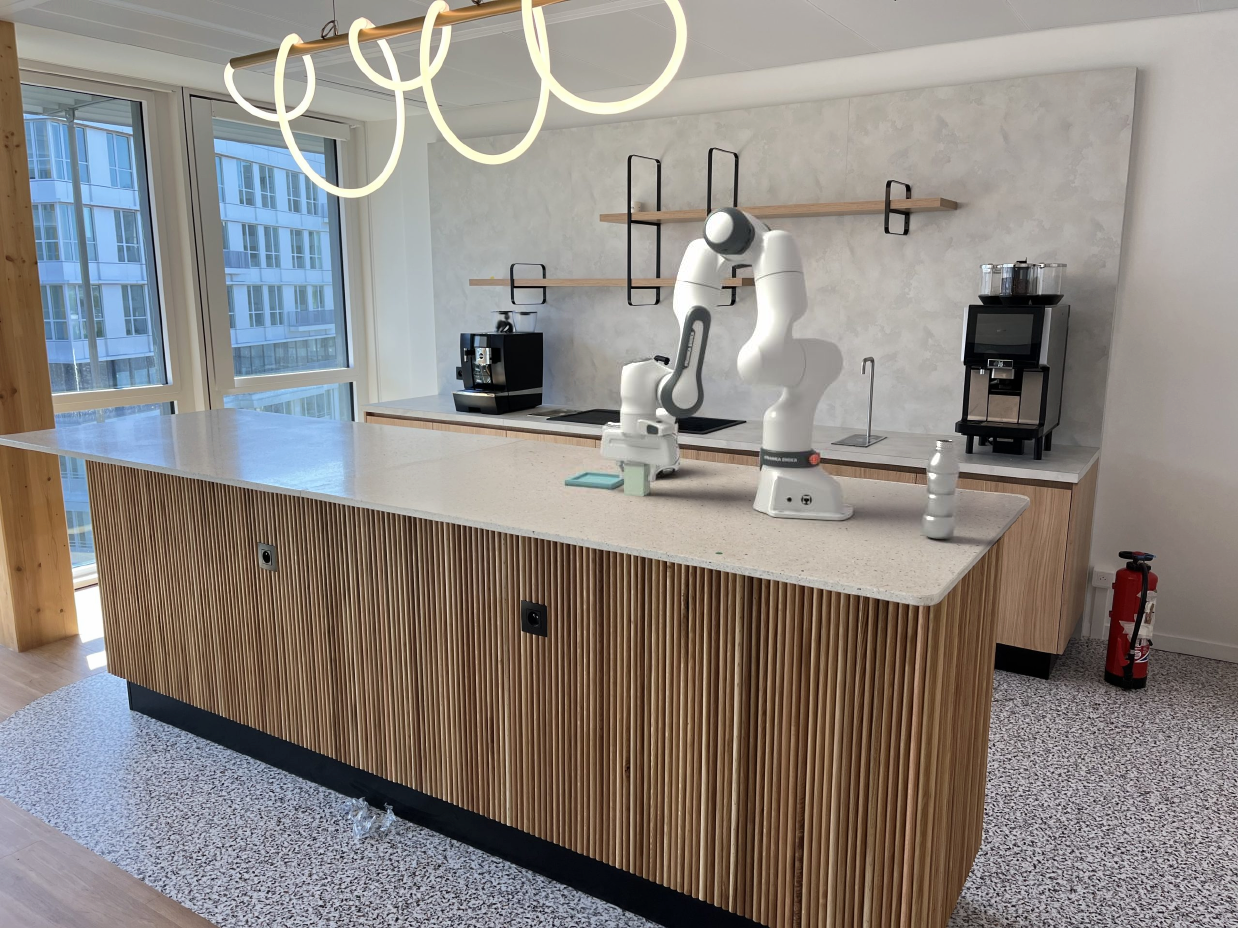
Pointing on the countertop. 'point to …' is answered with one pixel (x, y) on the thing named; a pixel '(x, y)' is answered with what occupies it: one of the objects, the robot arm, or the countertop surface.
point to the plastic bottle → (941, 491)
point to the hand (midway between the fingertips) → (637, 480)
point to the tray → (595, 480)
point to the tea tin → (636, 478)
